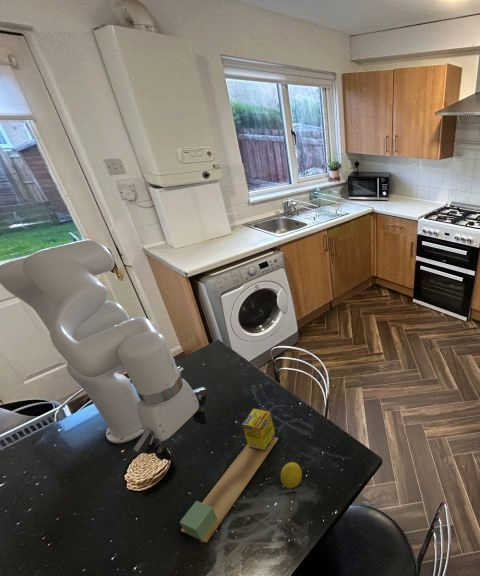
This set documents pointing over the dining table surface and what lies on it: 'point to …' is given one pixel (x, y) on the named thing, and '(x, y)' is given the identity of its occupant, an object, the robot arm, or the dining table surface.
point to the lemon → (291, 475)
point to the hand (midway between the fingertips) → (184, 439)
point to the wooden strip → (233, 483)
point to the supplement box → (259, 429)
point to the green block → (198, 520)
